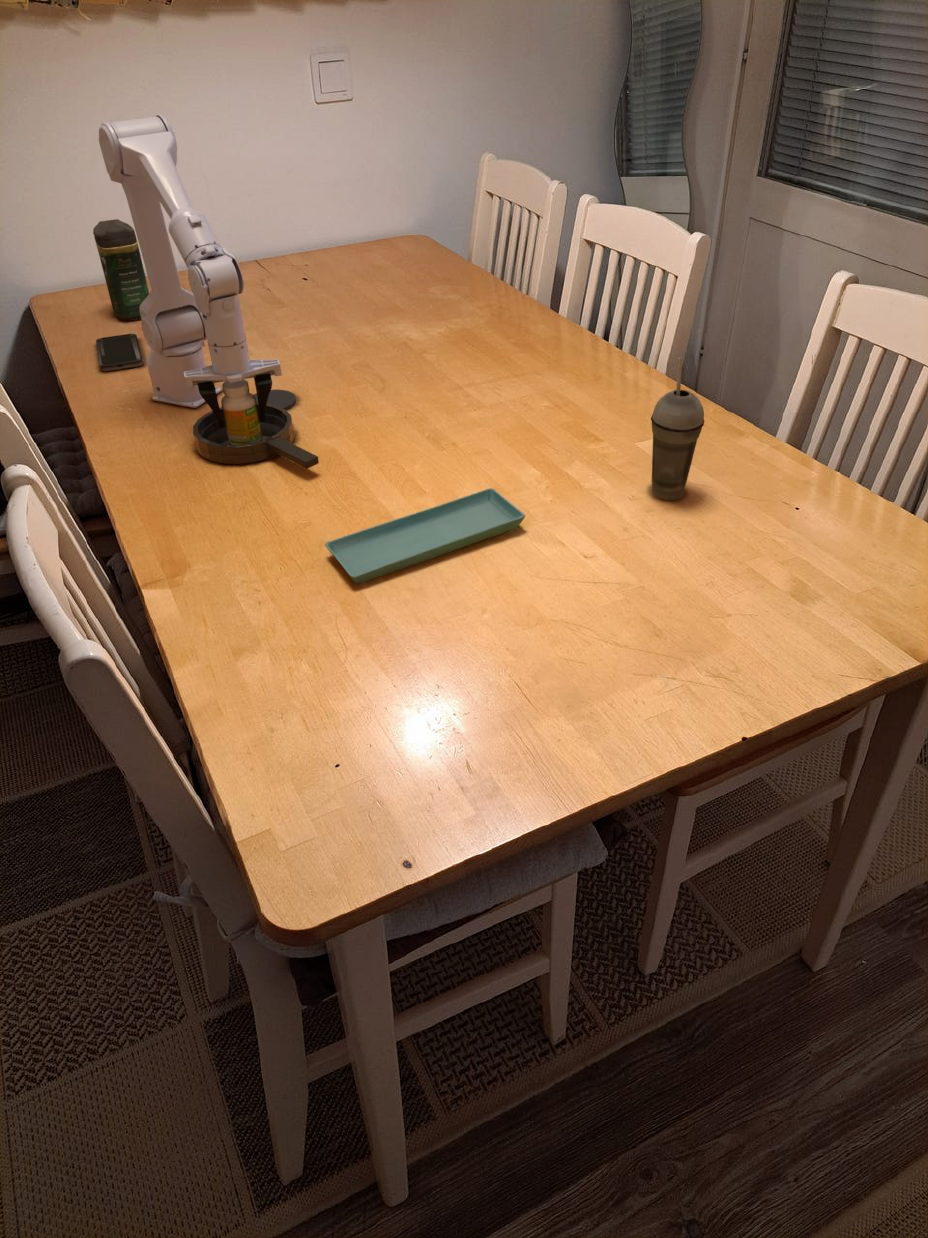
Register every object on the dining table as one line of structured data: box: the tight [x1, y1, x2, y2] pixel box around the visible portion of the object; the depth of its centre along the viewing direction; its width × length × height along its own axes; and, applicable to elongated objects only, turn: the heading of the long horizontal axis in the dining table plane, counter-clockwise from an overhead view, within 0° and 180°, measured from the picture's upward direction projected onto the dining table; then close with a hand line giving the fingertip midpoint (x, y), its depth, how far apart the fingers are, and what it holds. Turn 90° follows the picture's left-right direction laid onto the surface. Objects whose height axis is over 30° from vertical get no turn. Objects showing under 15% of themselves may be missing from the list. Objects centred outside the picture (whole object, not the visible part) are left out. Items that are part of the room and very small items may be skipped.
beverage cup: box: [650, 356, 706, 501], centre depth 126 cm, size 7×7×20 cm
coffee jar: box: [92, 218, 150, 321], centre depth 188 cm, size 10×8×19 cm
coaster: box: [253, 389, 297, 411], centre depth 158 cm, size 8×8×1 cm
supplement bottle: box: [220, 379, 262, 445], centre depth 144 cm, size 5×5×10 cm
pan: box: [192, 403, 295, 465], centre depth 146 cm, size 16×16×3 cm
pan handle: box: [266, 437, 320, 470], centre depth 139 cm, size 10×2×1 cm, turn 47°
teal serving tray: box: [324, 487, 526, 585], centre depth 122 cm, size 26×9×2 cm, turn 120°
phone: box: [95, 333, 144, 373], centre depth 176 cm, size 8×1×15 cm
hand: (242, 422), depth 145 cm, fingers open, 6 cm apart
